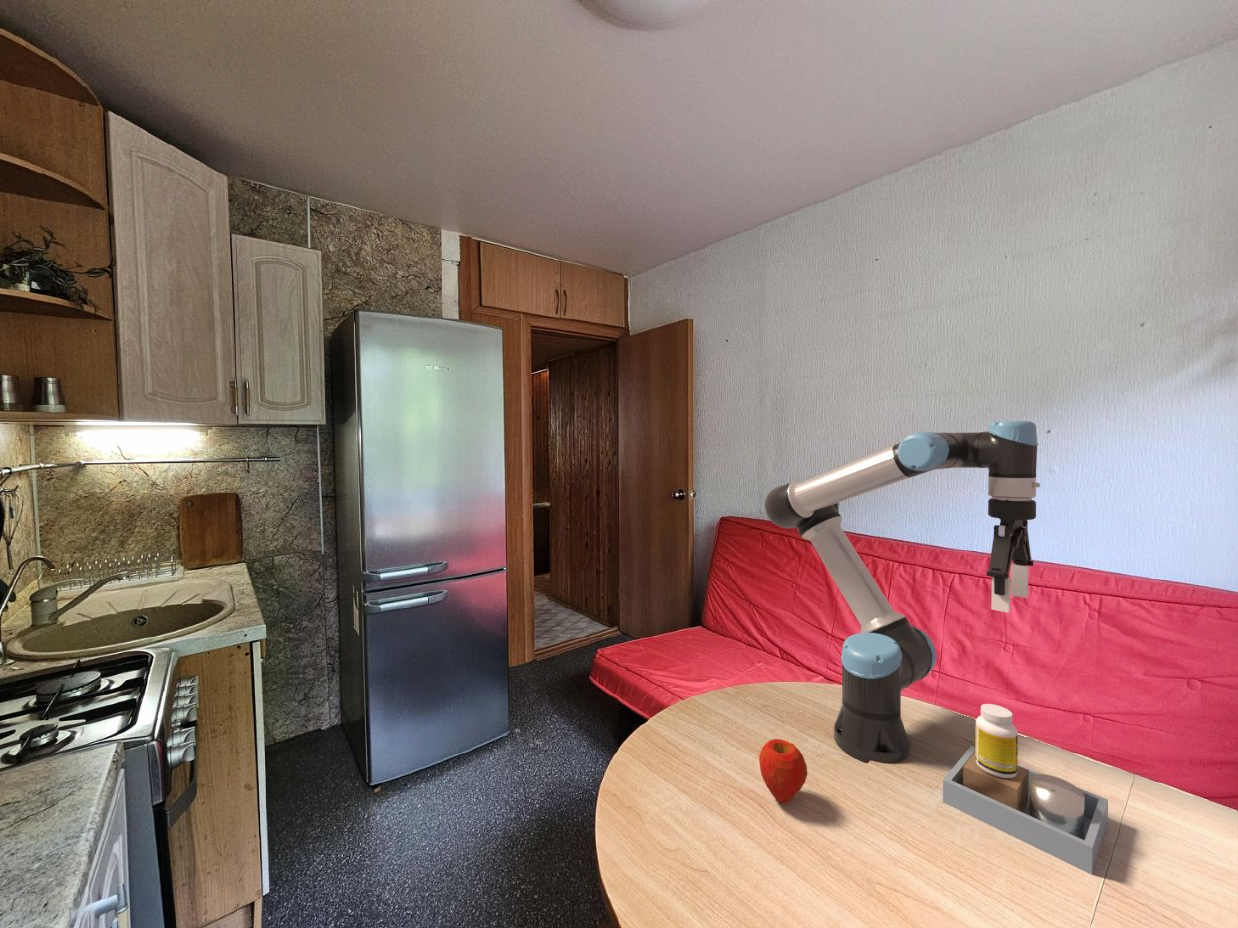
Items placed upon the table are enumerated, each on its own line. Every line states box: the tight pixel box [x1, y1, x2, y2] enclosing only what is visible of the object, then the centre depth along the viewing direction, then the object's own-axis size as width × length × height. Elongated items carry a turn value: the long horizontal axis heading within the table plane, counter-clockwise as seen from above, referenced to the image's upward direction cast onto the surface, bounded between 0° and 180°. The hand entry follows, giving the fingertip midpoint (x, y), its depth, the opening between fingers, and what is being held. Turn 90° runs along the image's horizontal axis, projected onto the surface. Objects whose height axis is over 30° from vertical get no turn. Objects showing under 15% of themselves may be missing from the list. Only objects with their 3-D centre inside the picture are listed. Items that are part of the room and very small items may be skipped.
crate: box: [942, 745, 1109, 875], centre depth 88 cm, size 20×16×5 cm
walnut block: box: [963, 752, 1029, 812], centre depth 91 cm, size 8×8×6 cm
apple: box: [758, 738, 808, 804], centre depth 93 cm, size 9×8×11 cm
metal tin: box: [1029, 773, 1085, 840], centre depth 84 cm, size 7×7×7 cm
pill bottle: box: [974, 703, 1019, 778], centre depth 90 cm, size 6×6×11 cm
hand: (1010, 603), depth 99 cm, fingers open, 13 cm apart
